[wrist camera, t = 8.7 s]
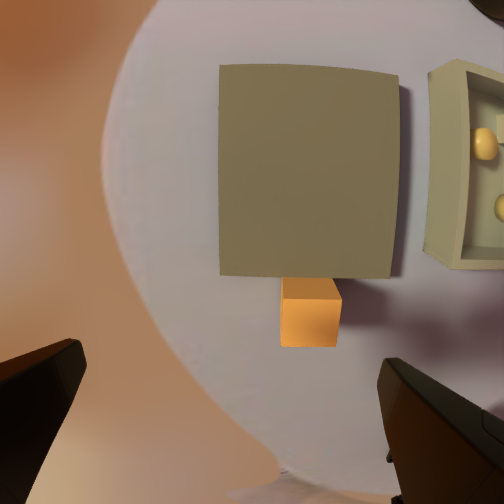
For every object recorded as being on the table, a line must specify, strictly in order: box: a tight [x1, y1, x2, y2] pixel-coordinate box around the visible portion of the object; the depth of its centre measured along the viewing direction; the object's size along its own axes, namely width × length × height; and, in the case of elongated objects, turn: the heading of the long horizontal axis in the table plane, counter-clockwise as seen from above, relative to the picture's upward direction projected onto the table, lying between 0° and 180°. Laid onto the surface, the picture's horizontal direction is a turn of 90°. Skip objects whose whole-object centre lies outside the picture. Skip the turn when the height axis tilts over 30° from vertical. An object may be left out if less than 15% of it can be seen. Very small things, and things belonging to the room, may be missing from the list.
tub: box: [423, 58, 504, 270], centre depth 16 cm, size 12×10×4 cm
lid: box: [218, 64, 400, 347], centre depth 17 cm, size 15×10×5 cm
